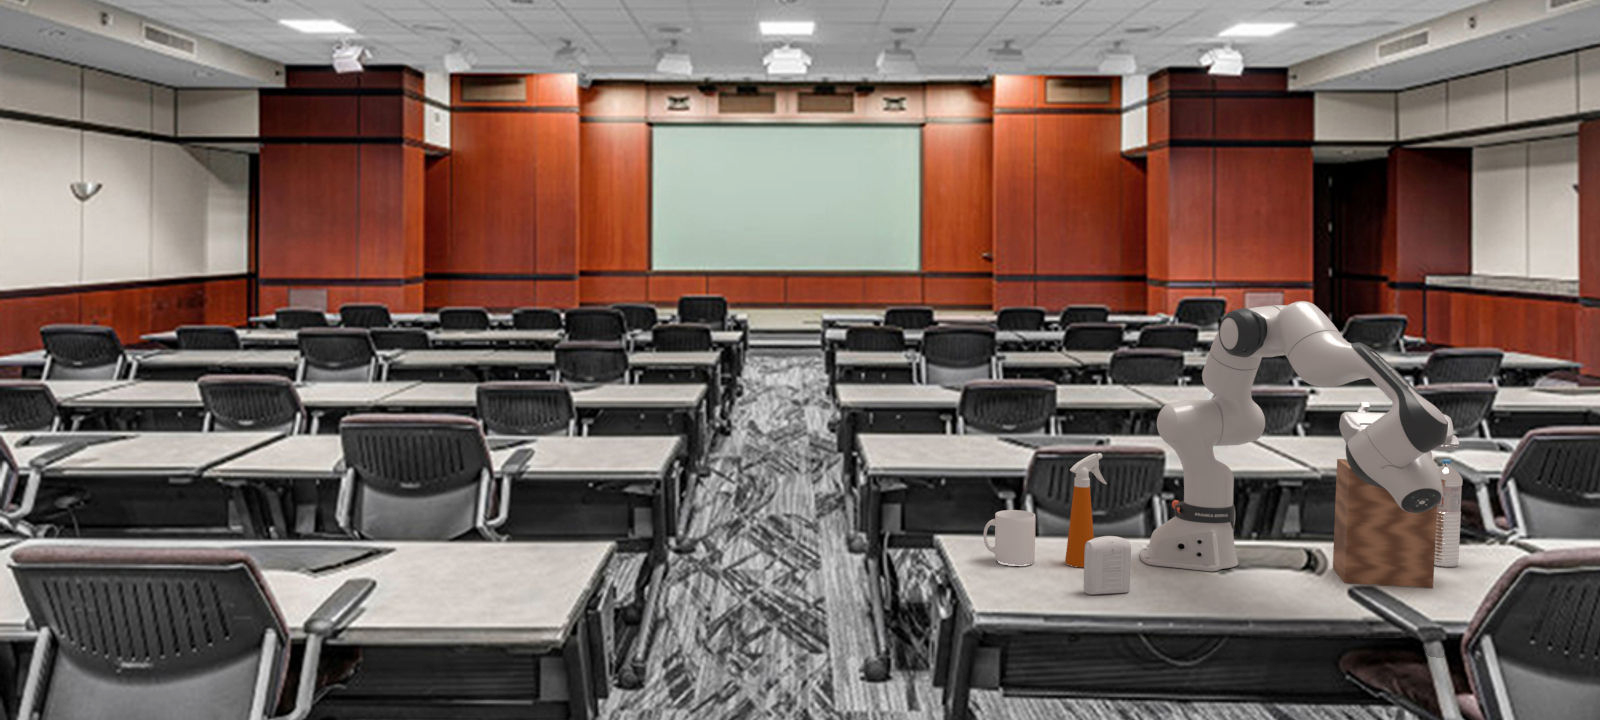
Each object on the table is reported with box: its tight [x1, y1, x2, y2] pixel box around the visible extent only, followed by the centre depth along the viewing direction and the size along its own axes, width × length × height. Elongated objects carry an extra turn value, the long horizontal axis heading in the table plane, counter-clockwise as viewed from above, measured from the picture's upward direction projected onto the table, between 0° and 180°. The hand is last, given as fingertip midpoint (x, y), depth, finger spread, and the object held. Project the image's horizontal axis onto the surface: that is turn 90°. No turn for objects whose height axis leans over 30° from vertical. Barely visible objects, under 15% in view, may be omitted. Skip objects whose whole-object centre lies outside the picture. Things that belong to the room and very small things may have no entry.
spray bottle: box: [1064, 452, 1108, 567], centre depth 271 cm, size 7×11×26 cm, turn 116°
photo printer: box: [1083, 535, 1132, 595], centre depth 248 cm, size 10×4×12 cm, turn 103°
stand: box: [1332, 458, 1437, 589], centre depth 258 cm, size 18×12×26 cm, turn 77°
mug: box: [983, 509, 1036, 565], centre depth 273 cm, size 10×12×12 cm
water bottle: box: [1434, 458, 1464, 568], centre depth 269 cm, size 7×7×25 cm
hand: (1388, 405), depth 234 cm, fingers open, 8 cm apart
